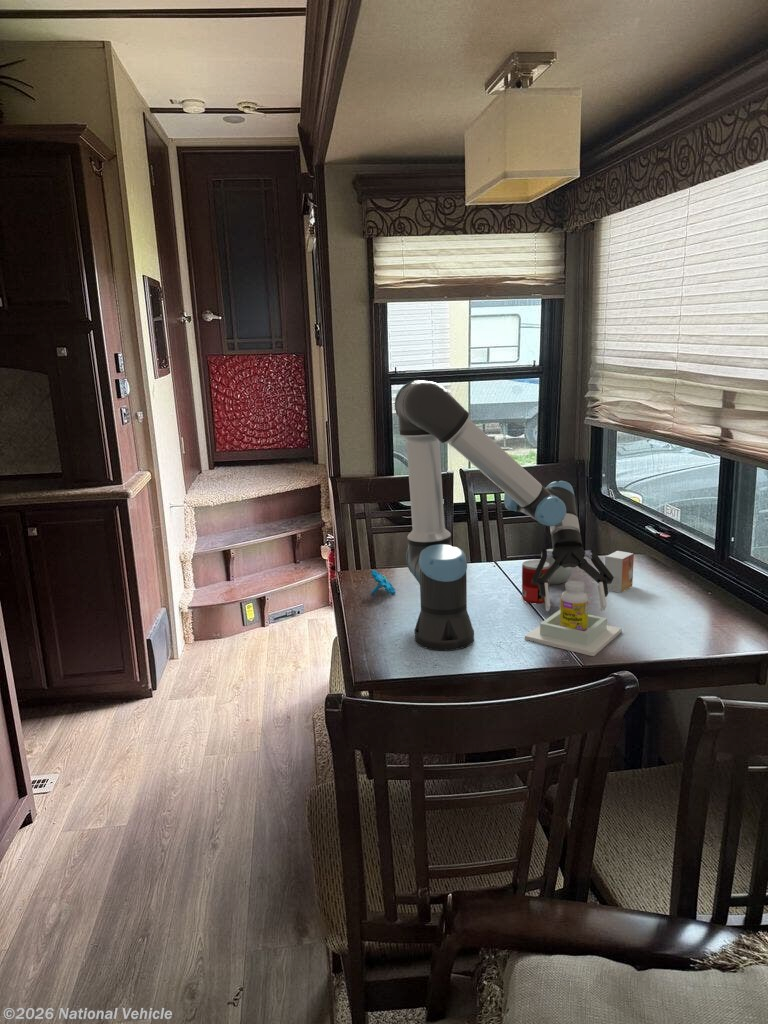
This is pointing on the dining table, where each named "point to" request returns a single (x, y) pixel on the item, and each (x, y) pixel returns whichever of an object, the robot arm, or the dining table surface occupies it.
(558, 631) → the tray
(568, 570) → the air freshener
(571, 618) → the supplement bottle
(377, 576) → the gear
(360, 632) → the dining table surface
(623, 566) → the small box
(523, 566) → the canned food
